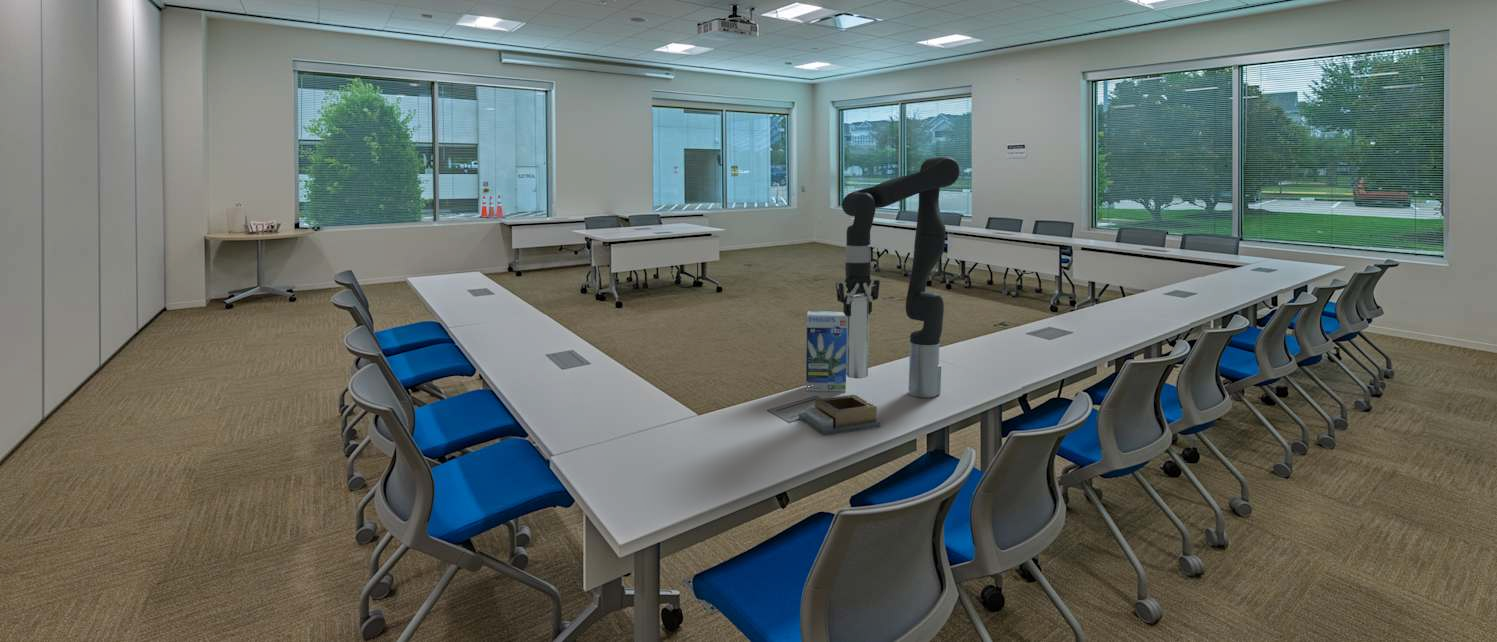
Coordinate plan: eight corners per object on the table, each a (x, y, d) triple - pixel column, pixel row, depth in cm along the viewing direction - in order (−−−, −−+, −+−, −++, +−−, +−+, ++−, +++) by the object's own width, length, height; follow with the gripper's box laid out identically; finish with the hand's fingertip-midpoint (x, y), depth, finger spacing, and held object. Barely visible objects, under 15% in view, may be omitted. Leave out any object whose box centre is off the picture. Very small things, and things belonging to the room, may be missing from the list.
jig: (853, 410, 222) (853, 393, 221) (880, 426, 207) (880, 408, 206) (799, 418, 216) (799, 400, 215) (823, 435, 201) (823, 416, 200)
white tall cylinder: (867, 378, 223) (868, 297, 218) (845, 378, 224) (846, 297, 219) (868, 373, 229) (869, 294, 224) (847, 372, 230) (847, 294, 225)
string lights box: (806, 391, 242) (806, 315, 237) (806, 385, 250) (806, 310, 245) (846, 392, 241) (847, 315, 236) (845, 385, 248) (846, 310, 243)
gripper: (872, 257, 225) (872, 310, 228) (830, 260, 220) (830, 314, 224) (885, 260, 218) (884, 315, 222) (842, 263, 213) (842, 319, 217)
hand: (857, 314), depth 223 cm, fingers closed on white tall cylinder, 6 cm apart
